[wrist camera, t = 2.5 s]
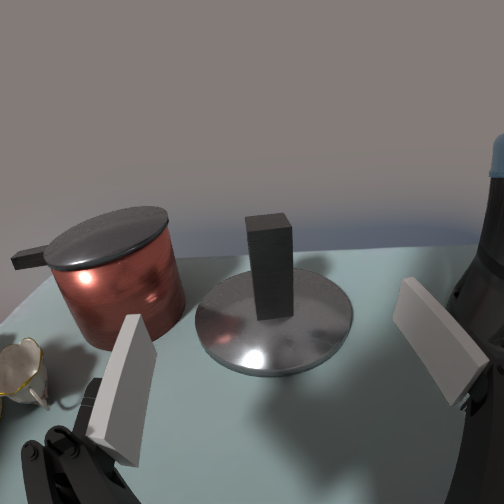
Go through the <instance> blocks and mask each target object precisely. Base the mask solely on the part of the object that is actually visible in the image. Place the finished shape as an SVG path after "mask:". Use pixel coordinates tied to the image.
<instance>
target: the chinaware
mask: <svg viewBox="0 0 504 504" xmlns="http://www.w3.org/2000/svg"><path fill="white" fill-rule="evenodd" d="M43 358H44V353H43V351H42V349H41V348H40V347H39V346H38V345H37V343H36V342H35V341H34V340H33V339H31V338H25V339H23V340H22V341H21V342H20V343H19V346H18V345H17V344H16V345H13V344H11V345H8V346H7V347H4V348H3V350H2V351H1V352H0V419H1V416H2V411H3V401H2V398H1V397H2V396H7V397H9V398H10V399H11V400H13V401H15V402H18V403H22V404H31V403H33V404H36V405H38V406H40V404H41V405H42V406H43V407H44V408H45V409H46V410H47V411H49V410H50V407H49V406H48V405H47V401H46V398H48V397H49V396H48V395H47V387H48V386H47V381H48V377H47V370H46V367H45V364H44V362H43Z"/></svg>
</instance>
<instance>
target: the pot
mask: <svg viewBox="0 0 504 504" xmlns="http://www.w3.org/2000/svg"><path fill="white" fill-rule="evenodd" d="M168 223H169V219H168V214H167V211H166V210H164V209H162V208H160V207H154V206H142V207H141V206H140V207H131V208H125V209H121V210H117V211H112V212H109V213H106V214H103V215H100V216H97V217H94V218H91V219H89V220H87V221H84V222H82V223H80V224H78V225H76V226H74V227H72V228H70V229H69V230H67V231H65V232H64V233H62V234H61V235H59V236H58V237H57V238H55V239H54V240H53V241H52V242H51V243H50V244H49V245H46V246H41V247H37V248H32V249H28V250H23V251H19V252H17V253H16V254H15V255H14V256H13V257H12V258H11V261H12V263H13V266H14V268H15V270H20V269H26V268H32V267H39V266H45V265H47V266H48V267H50V268H51V271H52V273H53V276H54V278H55V280H56V283H57V285H58V287H59V289H60V291H61V294H62V296H63V298H64V300H65V302H66V304H67V306H68V308H69V310H70V312H71V314H72V316H73V318H74V320H75V322H76V324H77V326H78V327H79V329H80V331H81V333H82V335H83V336H84V338H85V339H86V341H87V342H88V343H89V344H91V345H92V346H94V347H96V348H98V349H101V350H106V351H113V348H114V345H115V343H116V340H117V337H118V335H119V332H120V330H121V327H122V325H123V322H124V320H125V318H126V315H132V314H141V316H142V319H143V321H144V324H145V326H146V329H147V331H148V334H149V336H150V338H151V341H154V340H156V339H158V338H159V337H161V336H162V335H164V334H165V333H166V332H168V331H169V330H170V329H171V328H172V327H173V326H174V325H175V324H176V323H177V321H178V320H179V319H180V317H181V315H182V313H183V311H184V308H185V302H186V301H185V295H184V292H183V288H182V284H181V280H180V276H179V272H178V269H177V265H176V260H175V256H174V252H173V248H172V244H171V240H170V235H169V230H168V226H167V225H168Z"/></svg>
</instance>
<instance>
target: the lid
mask: <svg viewBox="0 0 504 504" xmlns="http://www.w3.org/2000/svg"><path fill="white" fill-rule="evenodd" d="M245 222H246V231H247V241H248V249H249V259H250V268H251V271H247V272H244V273H241V274H238V275H235V276H232V277H230V278H228V279H226V280H224V281H223V282H221V283H219V284H218V285H216V286H215V287H213V288H212V289H211V290H210V291H209V292H208V293H207V294H206V295H205V296H204V297H203V299H202V300H201V302H200V303H199V305H198V308H197V310H196V315H195V325H196V330H197V334H198V337H199V340H200V342H201V345H202V346H203V348H204V349H205V351H206V352H207V353H208V354H209V355H210V357H211V358H213V359H214V360H215V361H216V362H218V363H219V364H221V365H222V366H224V367H226V368H228V369H230V370H233V371H235V372H238V373H241V374H245V375H249V376H256V377H284V376H290V375H295V374H299V373H302V372H305V371H308V370H311V369H313V368H315V367H317V366H319V365H321V364H322V363H324V362H325V361H327V360H328V359H330V358H331V357H332V356H333V355H334V354H335V353H336V352H337V351H338V350H339V349H340V348H341V346H342V345H343V343H344V342H345V340H346V338H347V335H348V332H349V328H350V323H351V315H352V313H351V306H350V302H349V300H348V298H347V296H346V295H345V293H344V292H343V291H342V290H341V289H340V288H339V287H338V286H337V285H336V284H335V283H333V282H332V281H331V280H329V279H327V278H325V277H323V276H321V275H319V274H316V273H313V272H310V271H306V270H301V269H295V268H293V242H292V241H293V240H292V226H291V224H290V223H289V221H288V220H287V218H286V216H285V214H284V213H277V214H268V215H258V216H250V217H245Z"/></svg>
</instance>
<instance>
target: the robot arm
mask: <svg viewBox="0 0 504 504" xmlns="http://www.w3.org/2000/svg"><path fill="white" fill-rule="evenodd" d="M489 177H491V181H490V188H489V195H488V202H487V208H486V213H485V219H484V224H483V228H482V233H481V237H480V242H479V246H478V250H477V253H476V256H475V258H474V259H473V261H472V263H471V264H470V266H469V267H468V269H467V270H466V272H465V273H464V275H463V276H462V278H461V279H460V280H459V282H458V283H457V285H456V286H455V288H454V289H453V291H452V294H451V296H450V299H449V302H448V305H447V308H446V309H445V308H444V307H443V306H442V305H441V304H440V303H439V302H438V301H437V300H436V299H435V298H434V297H433V296H432V295H431V294H430V293H429V292H428V291H427V290H426V289H425V288H424V287H423V286H422V285H421V284H420V283H419V282H418V281H417V280H416V279H415V278H414V277H409V278H404V279H402V283H401V287H400V291H399V295H398V299H397V303H396V307H395V311H394V314H393V318H392V320H393V321H394V323H395V324H396V325H397V327H398V328H399V330H400V331H401V332H402V334H403V335H404V336H405V338H406V339H407V341H408V342H409V344H410V345H411V346H412V348H413V349H414V351H415V352H416V354H417V355H418V357H419V358H420V359H421V361H422V362H423V364H424V365H425V367H426V368H427V370H428V371H429V373H430V375H431V376H432V378H433V379H434V381H435V382H436V384H437V385H438V387H439V389H440V390H441V392H442V393H443V395H444V397H445V398H446V400H447V401H448V403H449V405H450V406H453V405H454V404H456V403H458V402H459V401H461V400H462V399H463V398H464V397H465V395H466V394H467V393H469V395H470V397H469V398H468V399H467V400H466V402H465V403H464V404H463V405H462V407H461V409H460V411H462V410H463V409H464V408H465V406H466V405H467V408H466V409H465V411H466V418H465V425H464V431H463V437H462V442H461V447H460V452H459V456H458V461H457V465H456V469H455V472H454V476H453V480H452V483H451V486H450V489H449V492H448V495H447V498H446V501H445V504H504V134H501V135H499V136H498V137H497V138H496V140H495V142H494V145H493V156H492V164H491V170H490V171H489ZM156 357H157V352H156V350H155V348H154V345H153V343H152V341H151V338H150V336H149V334H148V331H147V329H146V326H145V324H144V321H143V319H142V316H141V314H132V315H126V318H125V320H124V322H123V325H122V327H121V330H120V332H119V335H118V337H117V340H116V343H115V345H114V348H113V351H112V353H111V356H110V359H109V362H108V364H107V367H106V370H105V373H104V376H103V378H93V380H92V381H91V382H90V383H89V385H88V386H87V388H86V391H85V394H84V398H83V399H82V402H81V406H80V408H79V412H78V415H77V418H76V421H75V424H74V428H73V431H72V432H71V431H70V430H69V429H68V428H66V427H64V426H60V425H58V426H54V427H52V428H51V429H50V430H48V432H47V434H46V435H45V440H44V442H45V446H42V445H41V444H40V443H39V442H37V441H35V440H30V441H27V442H26V443H25V444H24V445H23V447H22V449H21V461H22V470H23V478H24V484H25V490H26V496H27V501H28V504H141V503H140V501H139V500H138V499H137V497H136V496H135V495H134V493H133V492H132V491H131V489H130V488H129V487H128V485H127V484H126V482H125V481H124V479H123V478H122V477H121V475H120V474H119V472H118V471H117V469H116V468H115V467H114V463H115V461H117V462H118V463H119V464H121V465H124V466H130V467H137V468H138V466H139V458H140V450H141V442H142V435H143V428H144V422H145V416H146V410H147V404H148V398H149V392H150V387H151V382H152V377H153V372H154V367H155V362H156Z"/></svg>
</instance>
